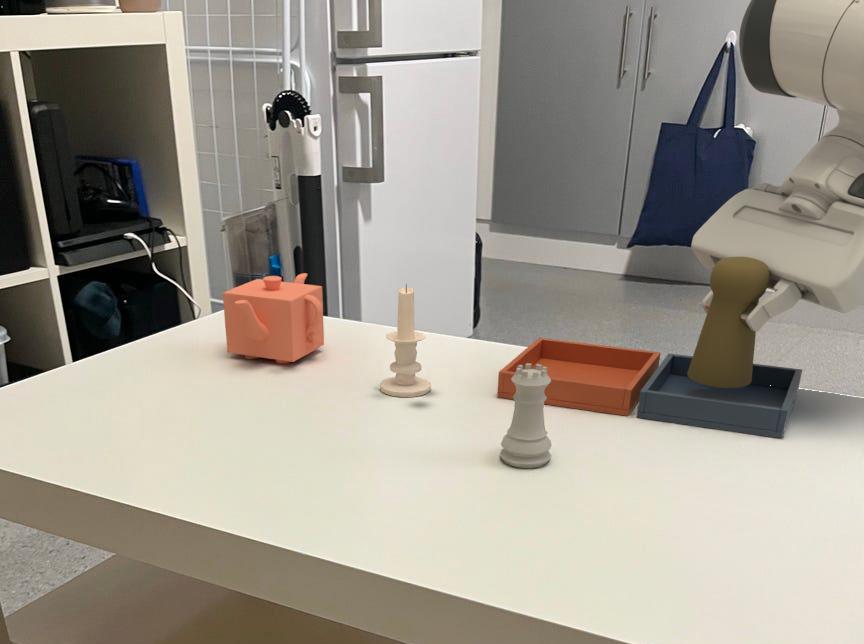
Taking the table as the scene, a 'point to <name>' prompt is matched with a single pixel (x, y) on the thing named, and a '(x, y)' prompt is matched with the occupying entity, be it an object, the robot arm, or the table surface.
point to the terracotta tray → (585, 374)
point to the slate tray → (721, 399)
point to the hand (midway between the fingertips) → (727, 318)
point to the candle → (405, 352)
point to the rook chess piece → (528, 420)
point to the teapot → (274, 319)
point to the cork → (729, 324)
